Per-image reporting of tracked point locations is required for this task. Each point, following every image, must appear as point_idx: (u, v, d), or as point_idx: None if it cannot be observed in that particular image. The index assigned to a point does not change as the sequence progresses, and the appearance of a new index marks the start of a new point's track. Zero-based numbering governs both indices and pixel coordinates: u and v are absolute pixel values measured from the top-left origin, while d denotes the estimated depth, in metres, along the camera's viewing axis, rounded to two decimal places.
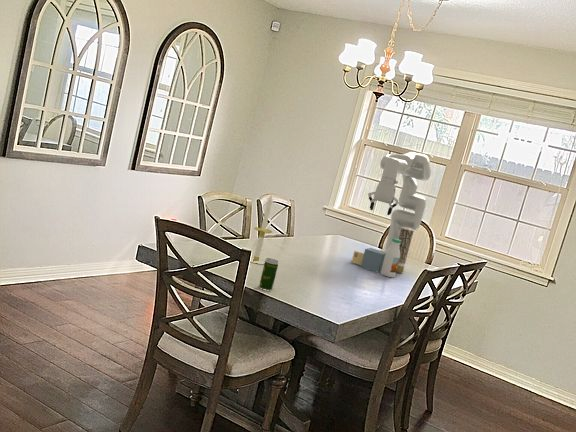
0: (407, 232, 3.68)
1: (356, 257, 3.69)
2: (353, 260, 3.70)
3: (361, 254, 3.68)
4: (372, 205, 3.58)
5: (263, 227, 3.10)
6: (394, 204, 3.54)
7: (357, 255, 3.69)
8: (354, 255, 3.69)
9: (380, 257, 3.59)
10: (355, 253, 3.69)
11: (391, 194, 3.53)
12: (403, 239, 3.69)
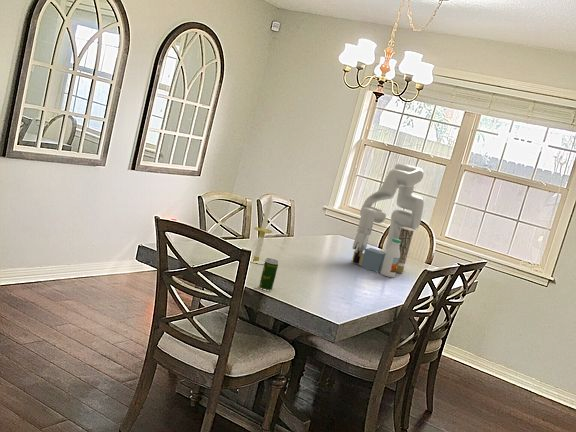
0: (407, 232, 3.68)
1: None
2: None
3: (361, 254, 3.68)
4: (359, 258, 3.68)
5: (263, 227, 3.10)
6: (361, 251, 3.71)
7: None
8: None
9: (380, 257, 3.59)
10: None
11: (367, 241, 3.71)
12: (403, 239, 3.69)
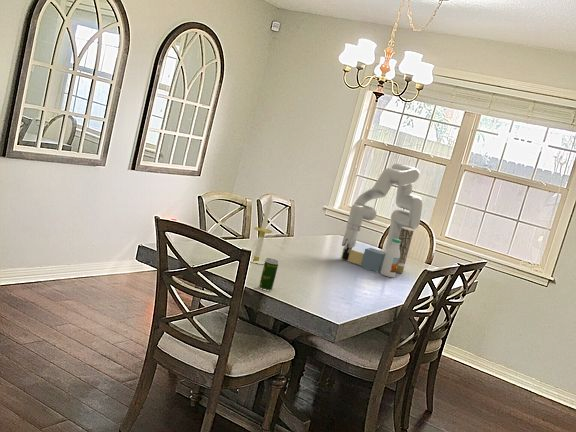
0: (407, 232, 3.68)
1: None
2: None
3: (350, 251, 3.70)
4: (348, 255, 3.71)
5: (263, 227, 3.10)
6: (351, 248, 3.74)
7: None
8: (343, 252, 3.72)
9: (380, 257, 3.59)
10: None
11: (356, 238, 3.74)
12: (403, 239, 3.69)
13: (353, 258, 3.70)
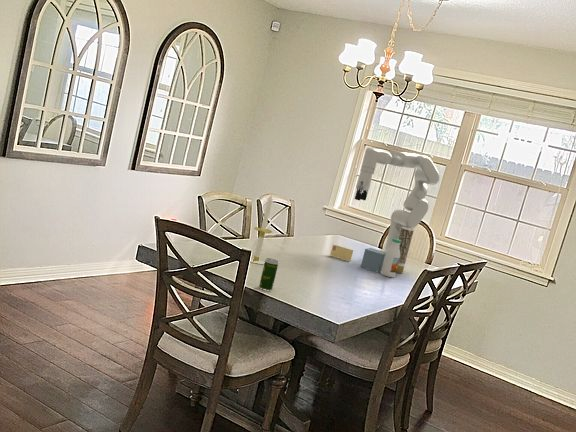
0: (407, 232, 3.68)
1: (335, 250, 3.74)
2: (332, 253, 3.75)
3: (339, 247, 3.73)
4: (361, 195, 3.76)
5: (263, 227, 3.10)
6: None
7: (335, 249, 3.74)
8: (333, 248, 3.75)
9: (380, 257, 3.59)
10: (333, 246, 3.74)
11: (370, 182, 3.82)
12: (403, 239, 3.69)
13: (342, 255, 3.72)
